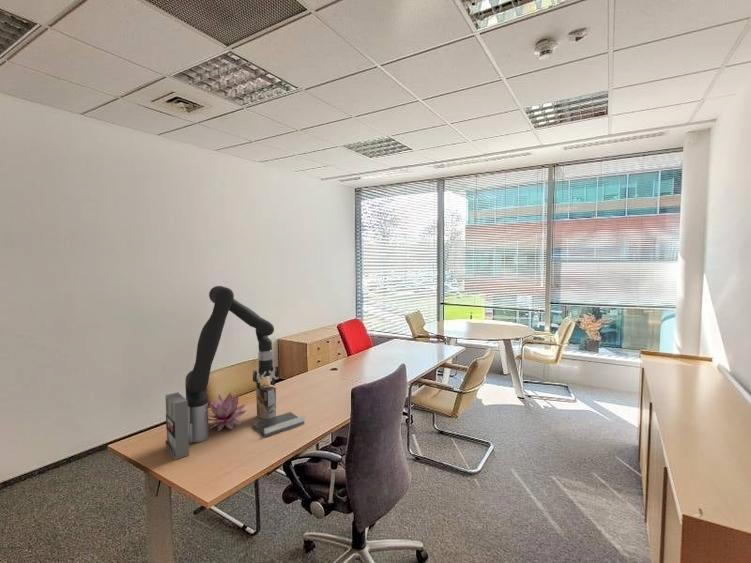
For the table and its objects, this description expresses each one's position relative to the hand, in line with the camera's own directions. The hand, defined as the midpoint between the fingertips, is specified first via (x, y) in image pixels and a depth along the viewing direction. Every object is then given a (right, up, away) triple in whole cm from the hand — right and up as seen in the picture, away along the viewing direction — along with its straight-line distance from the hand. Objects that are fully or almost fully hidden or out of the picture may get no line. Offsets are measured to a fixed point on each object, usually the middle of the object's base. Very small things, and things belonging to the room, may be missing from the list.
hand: (266, 386), depth 202 cm
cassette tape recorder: (-29, -19, -37) cm, 51 cm away
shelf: (+9, -17, -10) cm, 22 cm away
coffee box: (0, -17, +1) cm, 17 cm away
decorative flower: (-19, -17, -11) cm, 28 cm away
